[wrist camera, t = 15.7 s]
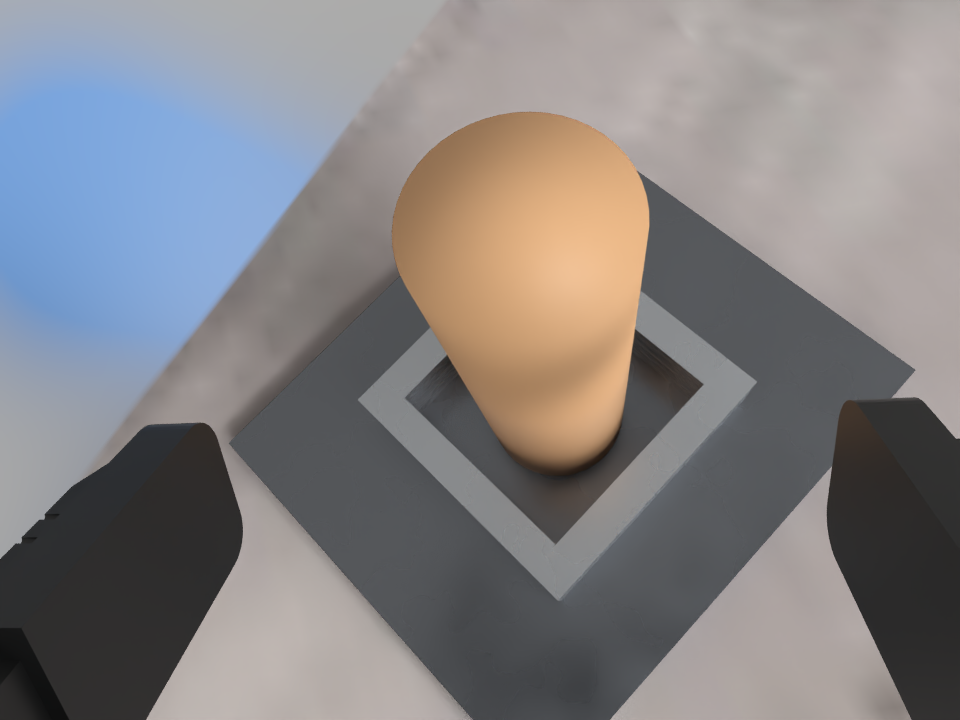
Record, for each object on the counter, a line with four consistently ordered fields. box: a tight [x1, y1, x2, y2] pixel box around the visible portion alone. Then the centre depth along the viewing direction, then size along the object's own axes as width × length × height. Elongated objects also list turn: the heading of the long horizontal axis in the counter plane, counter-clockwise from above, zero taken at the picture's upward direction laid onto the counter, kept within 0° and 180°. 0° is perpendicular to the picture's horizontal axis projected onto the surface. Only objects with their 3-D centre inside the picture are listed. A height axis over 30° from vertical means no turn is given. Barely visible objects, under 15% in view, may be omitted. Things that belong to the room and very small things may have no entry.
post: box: [392, 112, 649, 476], centre depth 17 cm, size 4×4×12 cm
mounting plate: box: [229, 171, 915, 720], centre depth 22 cm, size 16×14×3 cm
